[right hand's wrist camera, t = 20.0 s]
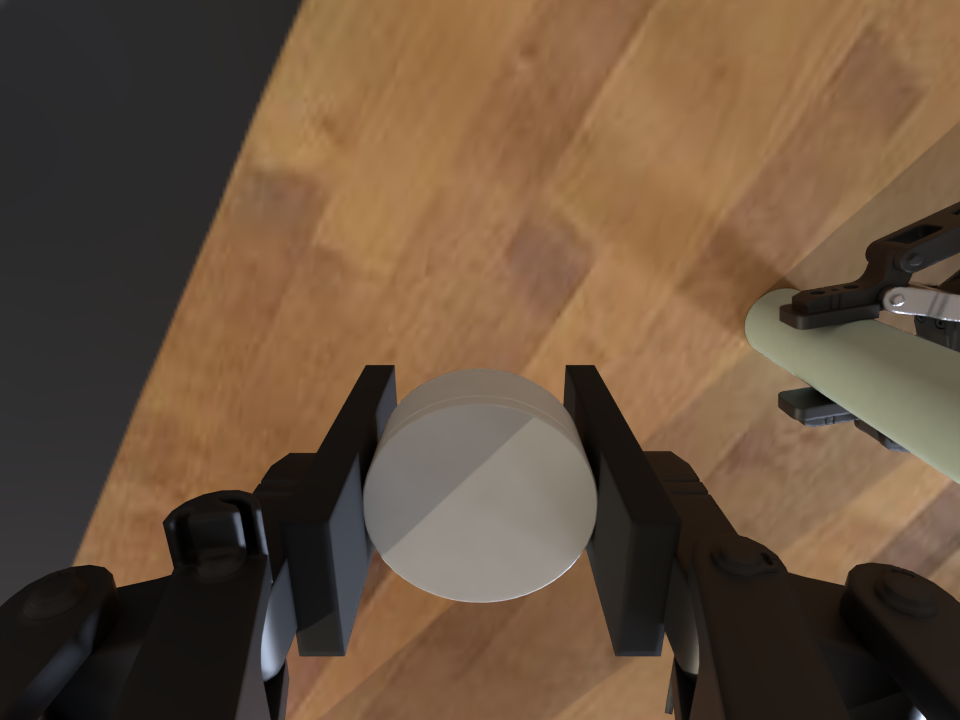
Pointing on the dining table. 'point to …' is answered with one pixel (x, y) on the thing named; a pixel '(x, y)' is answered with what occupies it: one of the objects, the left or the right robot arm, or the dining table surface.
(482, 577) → the lid
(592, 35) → the dining table surface
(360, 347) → the dining table surface
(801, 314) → the left robot arm
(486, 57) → the dining table surface
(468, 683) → the dining table surface
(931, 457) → the green bottle
